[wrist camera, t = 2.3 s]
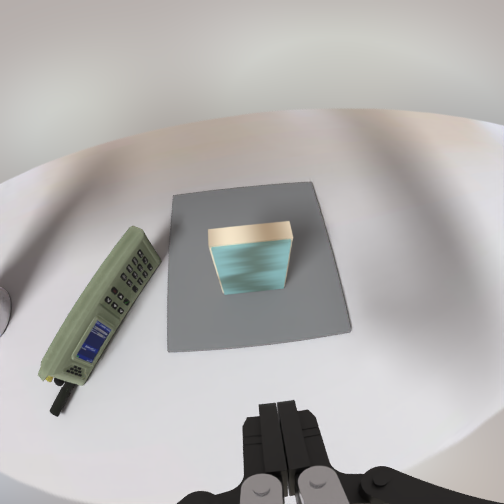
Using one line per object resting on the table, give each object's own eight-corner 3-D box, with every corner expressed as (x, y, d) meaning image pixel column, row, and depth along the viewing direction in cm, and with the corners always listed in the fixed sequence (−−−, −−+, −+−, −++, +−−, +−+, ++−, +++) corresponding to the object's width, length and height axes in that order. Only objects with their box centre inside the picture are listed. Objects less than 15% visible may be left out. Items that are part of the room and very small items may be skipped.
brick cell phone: (166, 262, 36) (68, 423, 24) (147, 253, 37) (52, 407, 25) (147, 231, 30) (32, 419, 19) (127, 222, 31) (17, 399, 20)
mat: (169, 352, 29) (167, 351, 29) (174, 198, 41) (173, 195, 40) (349, 332, 30) (351, 330, 29) (310, 184, 41) (310, 181, 41)
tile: (223, 295, 32) (208, 249, 24) (222, 279, 33) (208, 229, 25) (285, 289, 32) (293, 240, 24) (282, 273, 33) (289, 221, 25)
